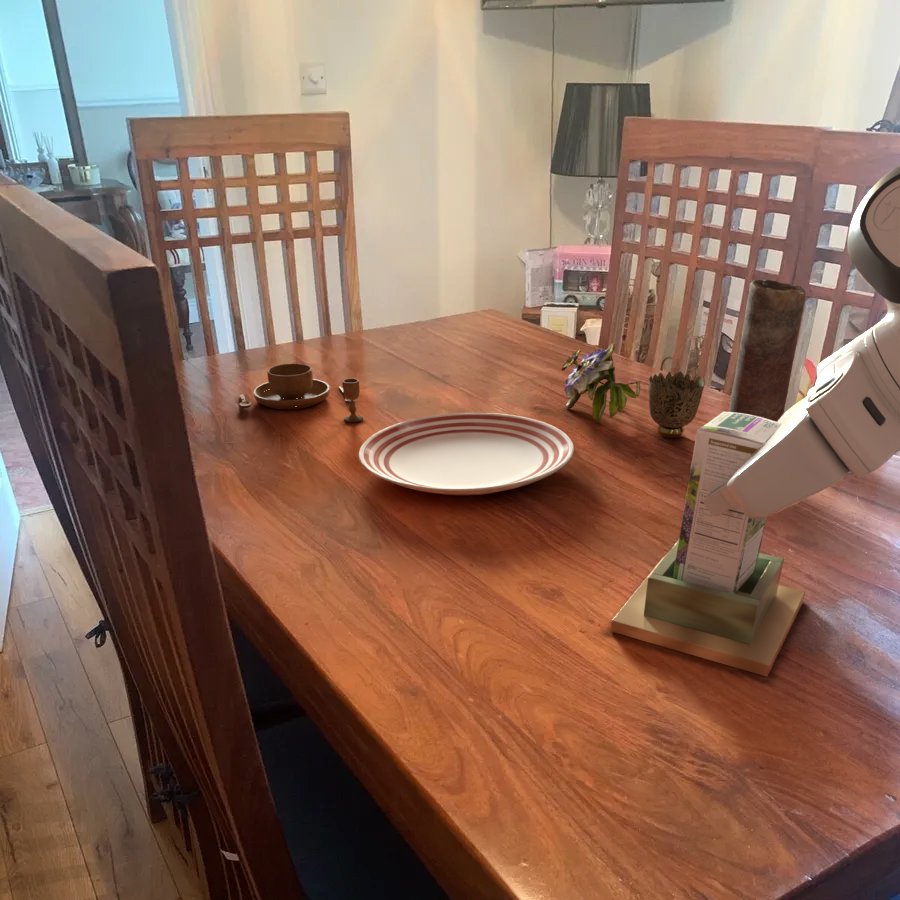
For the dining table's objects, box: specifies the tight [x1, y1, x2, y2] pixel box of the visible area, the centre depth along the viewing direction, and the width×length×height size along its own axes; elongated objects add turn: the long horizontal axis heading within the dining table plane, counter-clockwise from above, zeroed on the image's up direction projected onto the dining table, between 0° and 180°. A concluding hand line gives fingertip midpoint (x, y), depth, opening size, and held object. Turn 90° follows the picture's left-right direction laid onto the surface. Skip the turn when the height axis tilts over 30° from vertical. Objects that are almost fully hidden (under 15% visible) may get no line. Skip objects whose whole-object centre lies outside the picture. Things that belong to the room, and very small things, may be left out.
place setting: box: [239, 362, 364, 424], centre depth 132 cm, size 18×20×6 cm
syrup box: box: [673, 411, 781, 594], centre depth 75 cm, size 6×6×14 cm
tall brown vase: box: [728, 278, 807, 422], centre depth 117 cm, size 8×7×20 cm
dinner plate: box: [358, 412, 575, 496], centre depth 111 cm, size 27×27×3 cm
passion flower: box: [560, 343, 642, 424], centre depth 129 cm, size 11×11×12 cm
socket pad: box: [610, 539, 806, 677], centre depth 79 cm, size 14×14×5 cm
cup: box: [648, 371, 706, 439], centre depth 119 cm, size 8×7×8 cm
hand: (722, 491), depth 74 cm, fingers closed on syrup box, 6 cm apart
